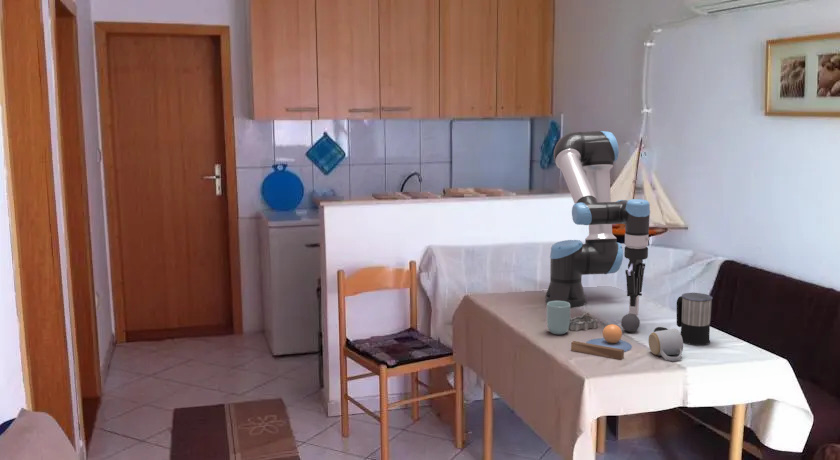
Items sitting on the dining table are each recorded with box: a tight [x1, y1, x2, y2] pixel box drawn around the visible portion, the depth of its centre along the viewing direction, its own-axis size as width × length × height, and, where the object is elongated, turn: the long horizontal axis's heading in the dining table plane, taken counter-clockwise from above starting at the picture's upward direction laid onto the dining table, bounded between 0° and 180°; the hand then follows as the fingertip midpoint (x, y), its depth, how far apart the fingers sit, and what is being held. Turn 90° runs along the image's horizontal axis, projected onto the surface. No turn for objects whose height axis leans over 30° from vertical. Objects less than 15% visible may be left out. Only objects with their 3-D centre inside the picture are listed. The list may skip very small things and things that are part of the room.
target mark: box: [585, 337, 633, 353], centre depth 241 cm, size 14×14×1 cm
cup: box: [546, 301, 571, 335], centre depth 254 cm, size 8×8×10 cm
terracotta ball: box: [602, 323, 623, 343], centre depth 243 cm, size 6×6×6 cm
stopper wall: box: [570, 340, 625, 360], centre depth 233 cm, size 2×16×2 cm, turn 55°
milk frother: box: [653, 292, 713, 346], centre depth 243 cm, size 14×16×15 cm
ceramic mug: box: [648, 328, 684, 362], centre depth 230 cm, size 11×8×8 cm
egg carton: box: [569, 312, 599, 332], centre depth 261 cm, size 11×8×4 cm
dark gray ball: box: [620, 313, 641, 333], centre depth 254 cm, size 6×6×6 cm
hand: (633, 314), depth 259 cm, fingers closed
